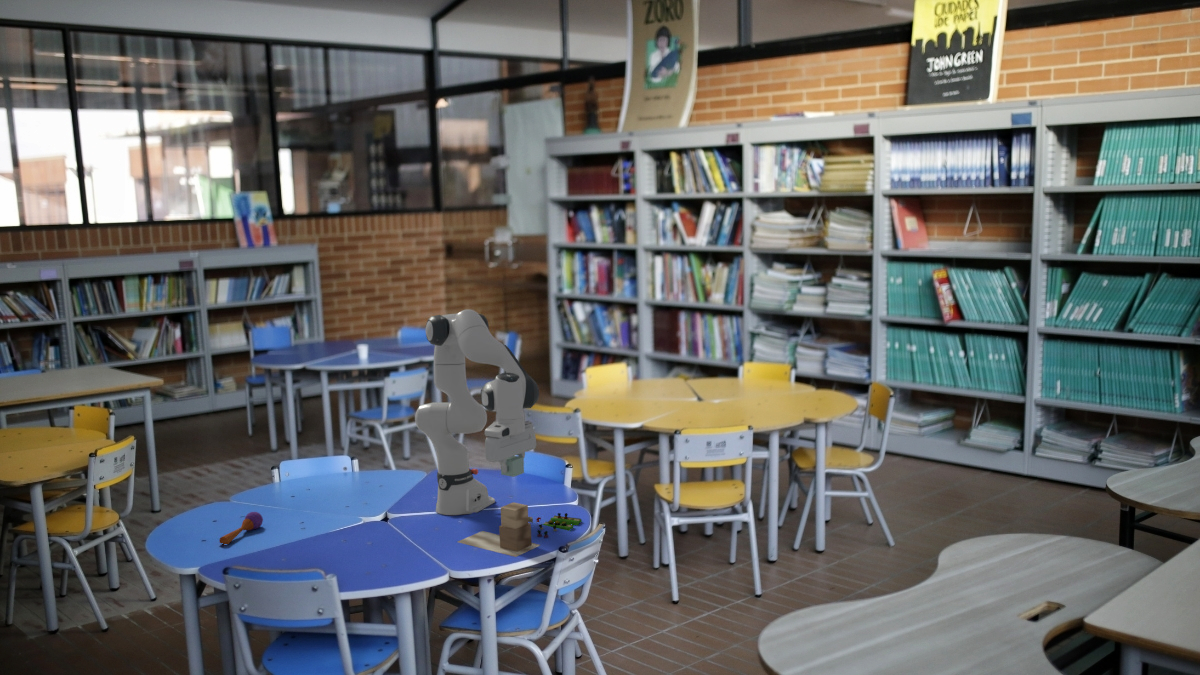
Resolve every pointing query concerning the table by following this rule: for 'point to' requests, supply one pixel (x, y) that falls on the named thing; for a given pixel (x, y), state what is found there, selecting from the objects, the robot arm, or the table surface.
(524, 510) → the oak middle block
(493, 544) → the birch board
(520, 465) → the sage cube
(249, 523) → the orange and purple maraca
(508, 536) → the walnut base block
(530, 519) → the toy garden set
